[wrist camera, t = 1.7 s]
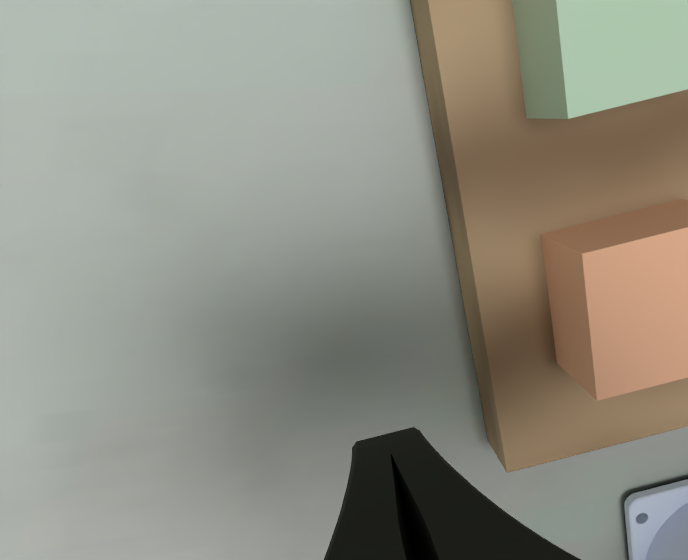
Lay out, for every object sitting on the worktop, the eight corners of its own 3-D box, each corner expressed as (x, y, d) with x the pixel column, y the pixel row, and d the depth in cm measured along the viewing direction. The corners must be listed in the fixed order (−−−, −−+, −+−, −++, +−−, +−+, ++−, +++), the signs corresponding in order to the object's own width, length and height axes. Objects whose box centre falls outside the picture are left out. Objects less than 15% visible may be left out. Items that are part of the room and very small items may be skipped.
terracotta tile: (687, 329, 18) (746, 362, 16) (557, 363, 18) (597, 400, 16) (681, 198, 17) (745, 212, 14) (541, 234, 17) (581, 253, 14)
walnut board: (735, 376, 21) (778, 402, 19) (487, 440, 21) (507, 472, 19) (727, -248, 15) (789, -300, 13) (380, -166, 15) (393, -207, 13)
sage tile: (676, 80, 16) (745, 75, 13) (526, 118, 16) (568, 118, 13) (669, -96, 14) (743, -138, 12) (504, -56, 14) (547, -90, 12)
